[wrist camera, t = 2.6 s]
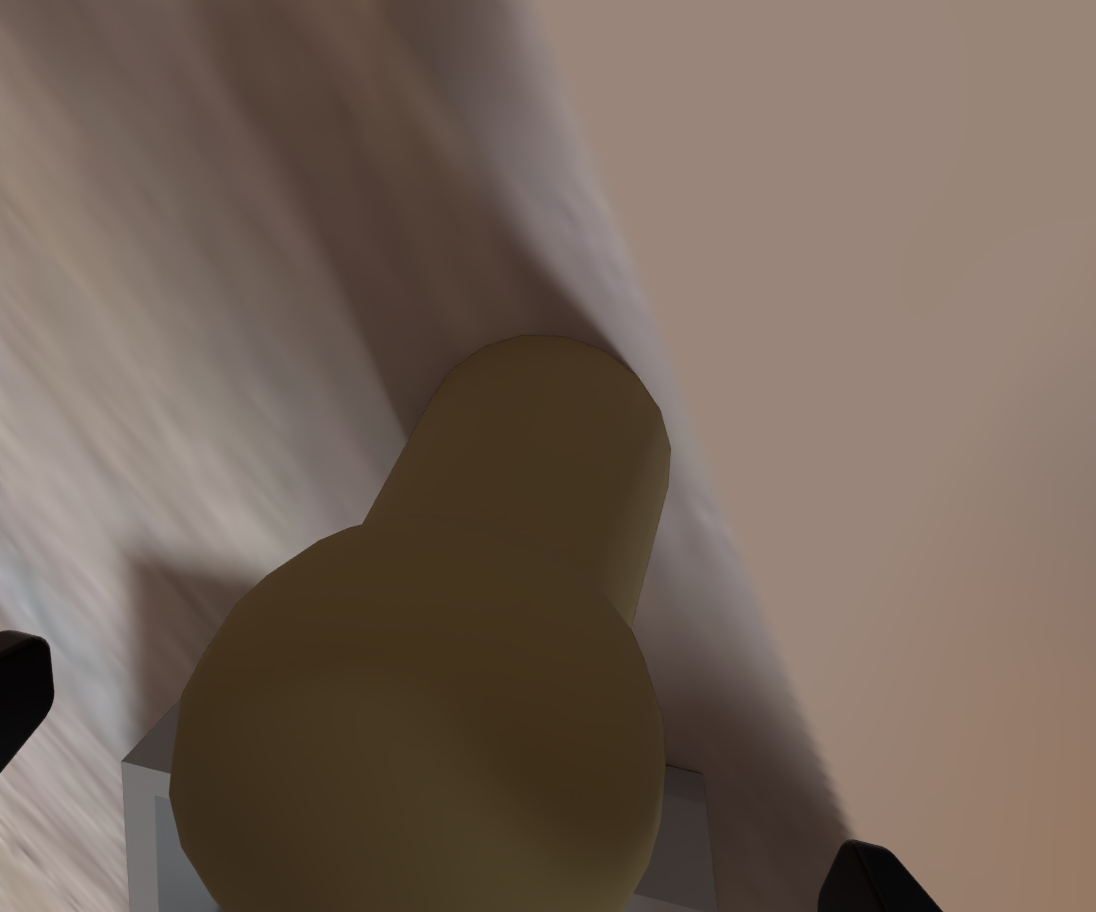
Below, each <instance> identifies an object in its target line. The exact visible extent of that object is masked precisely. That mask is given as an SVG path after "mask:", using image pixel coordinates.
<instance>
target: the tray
mask: <svg viewBox="0 0 1096 912" xmlns="http://www.w3.org/2000/svg"><path fill="white" fill-rule="evenodd" d="M180 702H181V699H180V700H179V701H178V702H177V703H176V704H175V705H174V706H173V707H172V708H171V709H170V711H169V712H168V713H167V714H166V715H165V716H164V717H163V718H162V719H161V720H160V721H159V722H158V723H157V724H156V725H155V726H154V727H153V728H152V730H151V731H150V732H149V733H148V734H147V735H146V736H145V737H144V738H143V739H142V740H141V741H140V742H139V743H138V744H137V745H136V746H135V747H134V749H133V750H132V751H131V752H130V753H129V754H128V755H127V756H126V757H125V758H124V759H123V760H122V761H121V763H122V781H123V799H124V816H125V834H126V852H127V870H128V887H129V905H130V912H225V911H224V910H223V909H222V908H221V907H220V906H219V905H218V904H217V903H216V901H215V900H214V899H213V898H212V897H211V895H210V893H209V892H208V890H207V889H206V887H205V885H204V884H203V882H202V880H201V879H200V877H199V875H198V874H197V872H196V871H195V869H194V867H193V866H192V864H191V862H190V861H189V859H188V858H187V856H186V854H185V853H184V851H183V849H182V848H181V844H180V840H179V836H178V831H177V827H176V823H175V819H174V815H173V811H172V806H171V802H170V798H169V785H170V775H171V765H172V755H173V747H174V741H175V734H176V728H177V722H178V715H179V709H180ZM623 912H718V908H717V899H716V890H715V880H714V871H713V862H712V852H711V843H710V833H709V824H708V815H707V805H706V796H705V787H704V777H703V774H699V773H695V772H691V771H687V770H683V769H679V768H675V767H671V766H666V765H665V775H664V788H663V800H662V812H661V822H660V825H659V829H658V833H657V837H656V840H655V844H654V848H653V851H652V855H651V859H650V862H649V865H648V867H647V869H646V871H645V872H644V874H643V876H642V878H641V880H640V882H639V883H638V885H637V887H636V889H635V891H634V892H633V894H632V896H631V898H630V900H629V901H628V903H627V905H626V907H625V909H624V910H623Z"/></svg>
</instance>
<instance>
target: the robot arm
mask: <svg viewBox="0 0 1096 912" xmlns="http://www.w3.org/2000/svg"><path fill="white" fill-rule="evenodd" d="M53 700H54V683H53V673H52V663H51V653H50V647H49V644H48V643H47V641H46V640H45V639H43V638H42V637H39V636H35V635H31V634H27V633H23V632H19V631H13V630H6V631H1V632H0V773H1V772H2V770H3V769H4V768H5V767H6V766H7V764H8V763H9V762H10V761H11V759H12V758H13V757H14V756H15V754H16V753H17V752H18V751H19V750H20V748H21V747H22V746H23V745H24V743H25V742H26V741H27V740H28V738H29V737H30V736H31V735H32V734H33V732H34V731H35V730H36V729H37V727H38V726H39V725H40V724H41V722H42V721H43V720H44V719H45V717H46V716H47V714H48V712H49V710H50V709H51V706H52V703H53ZM818 912H943V911H942V910H941V909H940V908H939V906H938V905H937V904H936V903H935V902H934V901H933V899H932V898H931V897H930V896H929V895H928V893H927V892H926V891H925V890H924V889H923V888H922V887H921V885H920V884H919V883H918V882H917V881H916V880H915V879H914V877H913V876H912V875H911V874H910V873H909V871H908V870H907V869H906V868H905V867H904V866H903V864H902V863H901V862H900V861H899V860H898V859H897V857H896V856H895V855H894V854H893V853H892V852H891V851H889V850H888V849H886V848H884V847H882V846H878V845H874V844H870V843H866V842H862V841H858V840H854V839H852V840H847V841H846V842H844V843H843V844H842V846H841V847H840V849H839V851H838V854H837V856H836V858H835V860H834V862H833V864H832V866H831V869H830V871H829V873H828V875H827V877H826V879H825V881H824V884H823V886H822V888H821V891H820V894H819V898H818Z"/></svg>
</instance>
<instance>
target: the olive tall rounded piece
mask: <svg viewBox="0 0 1096 912" xmlns="http://www.w3.org/2000/svg"><path fill="white" fill-rule="evenodd" d="M670 454H671V447H670V443H669V440H668V436H667V432H666V429H665V425H664V421H663V418H662V414H661V410H660V409H659V408H658V406H657V405H656V403H655V402H654V400H653V399H652V397H651V396H650V394H649V393H648V391H647V390H646V388H645V387H644V385H643V384H642V382H641V381H640V379H639V378H638V377H637V376H636V375H635V374H634V373H632V372H631V371H630V370H628V369H627V368H626V367H625V366H623V365H622V364H621V363H619V362H618V361H617V360H615V359H614V358H613V357H612V356H610V355H609V354H608V353H606V352H605V351H603V350H600V349H598V348H595V347H592V346H589V345H586V344H584V343H581V342H578V341H575V340H572V339H570V338H567V337H563V336H528V335H522V336H518V337H515V338H512V339H508V340H505V341H502V342H498V343H495V344H492V345H489V346H485V347H483V348H481V349H480V350H479V351H477V352H476V353H474V354H473V355H472V356H470V357H469V358H467V359H466V360H465V361H463V362H462V363H461V364H459V365H458V366H456V367H455V368H454V369H452V370H451V371H450V373H449V374H448V376H447V377H446V379H445V380H444V382H443V383H442V384H441V386H440V387H439V389H438V390H437V392H436V393H435V395H434V396H433V397H432V399H431V400H430V402H429V404H428V406H427V407H426V409H425V411H424V413H423V415H422V416H421V418H420V420H419V422H418V424H417V426H416V427H415V429H414V431H413V433H412V435H411V436H410V438H409V440H408V442H407V444H406V446H405V447H404V449H403V451H402V453H401V455H400V457H399V458H398V460H397V462H396V464H395V466H394V467H393V469H392V471H391V473H390V475H389V477H388V478H387V480H386V482H385V484H384V486H383V487H382V489H381V491H380V493H379V495H378V497H377V498H376V500H375V502H374V504H373V506H372V508H371V509H370V511H369V513H368V515H367V517H366V518H365V520H364V522H363V524H362V525H358V526H354V527H350V528H347V529H345V530H343V531H340V532H338V533H336V534H333V535H331V536H328V537H326V538H324V539H321V540H319V541H317V542H316V543H315V544H313V545H312V546H310V547H309V548H307V549H306V550H304V551H303V552H301V553H300V554H298V555H297V556H295V557H294V558H292V559H291V560H289V561H288V562H286V563H285V564H283V565H282V566H280V567H279V568H277V569H276V570H274V571H273V572H271V573H270V574H269V575H267V576H266V577H265V578H264V579H263V580H262V581H260V582H259V583H258V584H257V585H256V586H255V587H254V588H253V589H252V590H251V591H250V592H249V593H248V594H246V595H245V596H244V597H243V598H242V599H241V600H240V601H239V602H238V603H237V604H236V605H235V607H234V608H233V610H232V611H231V613H230V614H229V616H228V617H227V619H226V620H225V622H224V623H223V625H222V626H221V628H220V630H219V631H218V633H217V634H216V636H215V637H214V639H213V640H212V642H211V643H210V645H209V646H208V648H207V649H206V651H205V652H204V654H203V656H202V658H201V659H200V661H199V663H198V665H197V667H196V669H195V671H194V673H193V674H192V676H191V678H190V680H189V682H188V684H187V686H186V687H185V689H184V691H183V693H182V696H181V702H180V709H179V715H178V722H177V728H176V734H175V741H174V747H173V755H172V765H171V775H170V785H169V798H170V802H171V806H172V811H173V815H174V819H175V823H176V827H177V831H178V836H179V840H180V844H181V848H182V849H183V851H184V853H185V854H186V856H187V858H188V859H189V861H190V862H191V864H192V866H193V867H194V869H195V871H196V872H197V874H198V875H199V877H200V879H201V880H202V882H203V884H204V885H205V887H206V889H207V890H208V892H209V893H210V895H211V897H212V898H213V899H214V900H215V901H216V903H217V904H218V905H219V906H220V907H221V908H222V909H223V910H224V911H225V912H623V910H624V909H625V907H626V905H627V903H628V901H629V900H630V898H631V896H632V894H633V892H634V891H635V889H636V887H637V885H638V883H639V882H640V880H641V878H642V876H643V874H644V872H645V871H646V869H647V867H648V865H649V862H650V859H651V855H652V851H653V848H654V844H655V840H656V837H657V833H658V829H659V825H660V822H661V812H662V800H663V788H664V775H665V763H666V756H665V740H664V725H663V717H662V714H661V711H660V708H659V705H658V701H657V698H656V695H655V692H654V689H653V686H652V682H651V679H650V676H649V673H648V670H647V667H646V663H645V660H644V657H643V655H642V653H641V650H640V648H639V646H638V643H637V641H636V639H635V636H634V634H633V632H632V630H631V627H632V623H633V619H634V615H635V612H636V608H637V604H638V600H639V596H640V592H641V589H642V585H643V581H644V577H645V573H646V569H647V566H648V562H649V558H650V554H651V550H652V546H653V543H654V539H655V535H656V531H657V527H658V523H659V520H660V516H661V512H662V508H663V504H664V500H665V497H666V493H667V489H668V482H669V468H670Z"/></svg>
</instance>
